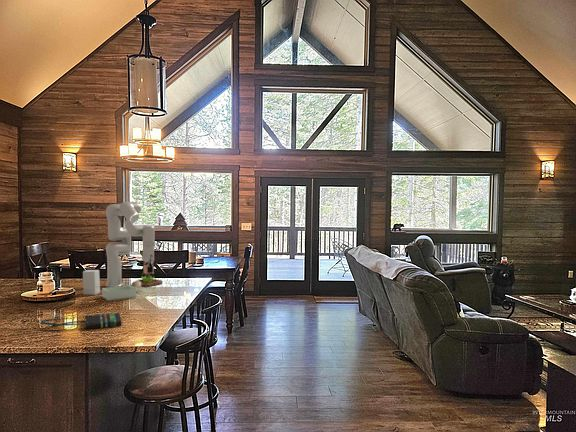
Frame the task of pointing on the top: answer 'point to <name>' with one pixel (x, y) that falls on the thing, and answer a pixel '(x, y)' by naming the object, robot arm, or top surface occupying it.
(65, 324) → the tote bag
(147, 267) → the terracotta cube
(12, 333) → the top surface
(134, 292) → the sage tote
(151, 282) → the plant
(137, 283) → the birch cylinder
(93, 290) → the skincare box
